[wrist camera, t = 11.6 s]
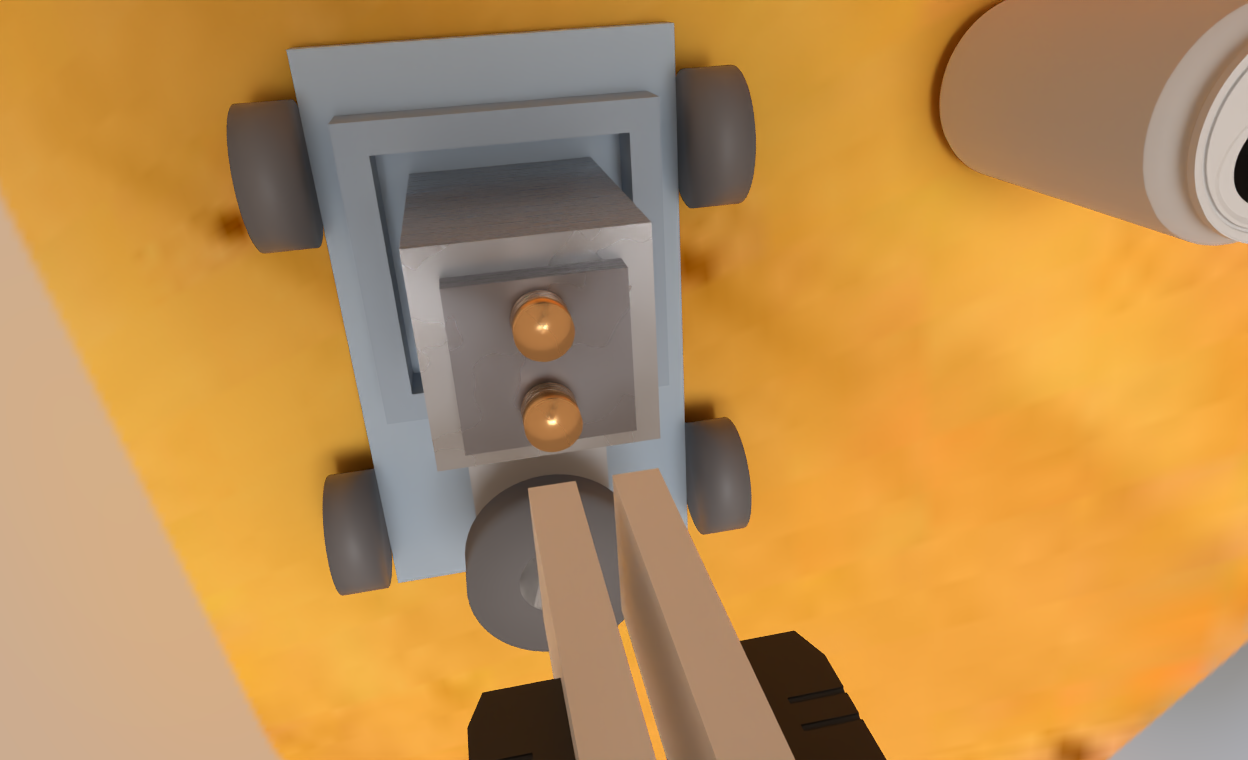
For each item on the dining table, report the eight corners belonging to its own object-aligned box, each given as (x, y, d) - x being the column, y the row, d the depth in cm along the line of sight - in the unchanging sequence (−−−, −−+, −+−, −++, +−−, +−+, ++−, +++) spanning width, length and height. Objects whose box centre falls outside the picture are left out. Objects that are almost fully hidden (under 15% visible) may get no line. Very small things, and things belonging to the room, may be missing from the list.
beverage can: (898, 139, 32) (1136, 215, 21) (984, -40, 30) (1296, -55, 19) (1028, 195, 34) (1304, 291, 23) (1116, 31, 32) (1466, 54, 21)
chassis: (237, 51, 26) (202, 62, 22) (712, 18, 28) (756, 23, 25) (359, 574, 35) (350, 649, 31) (716, 515, 37) (750, 577, 33)
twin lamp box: (408, 173, 28) (396, 272, 18) (590, 156, 29) (670, 242, 19) (436, 343, 30) (437, 509, 21) (601, 322, 31) (677, 472, 22)
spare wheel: (452, 459, 30) (454, 519, 26) (619, 434, 31) (642, 489, 27) (474, 594, 32) (479, 665, 29) (628, 568, 33) (650, 634, 30)
